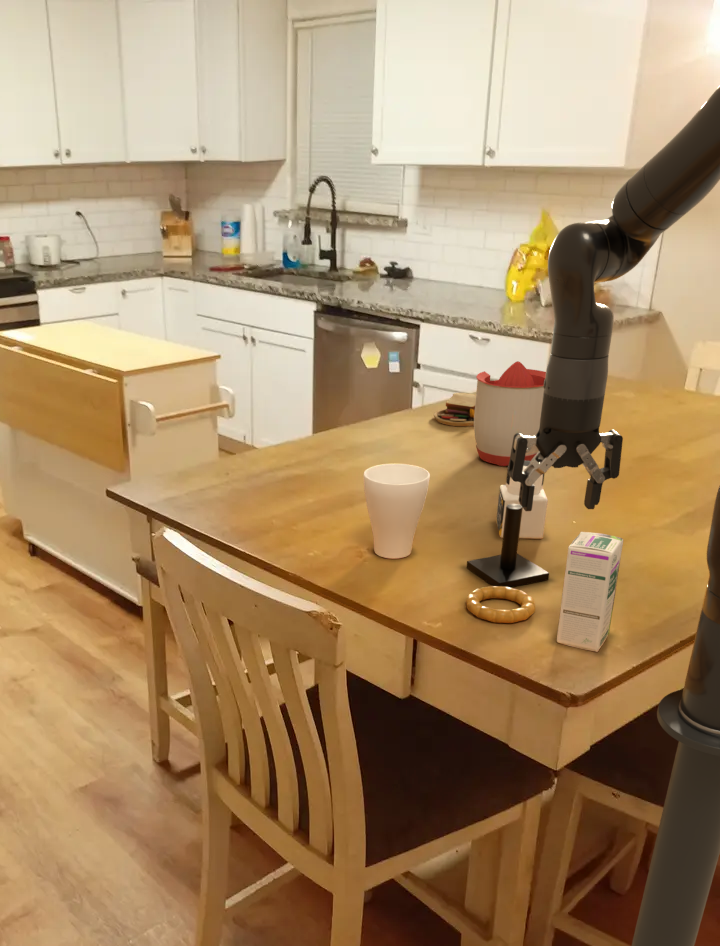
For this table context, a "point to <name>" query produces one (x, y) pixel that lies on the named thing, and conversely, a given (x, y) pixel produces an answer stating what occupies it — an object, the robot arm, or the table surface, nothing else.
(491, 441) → the citrus juicer
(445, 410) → the toy sandwich meal
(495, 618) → the ring
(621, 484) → the table surface
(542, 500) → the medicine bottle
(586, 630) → the syrup box
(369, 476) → the cup
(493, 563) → the holder
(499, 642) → the table surface
